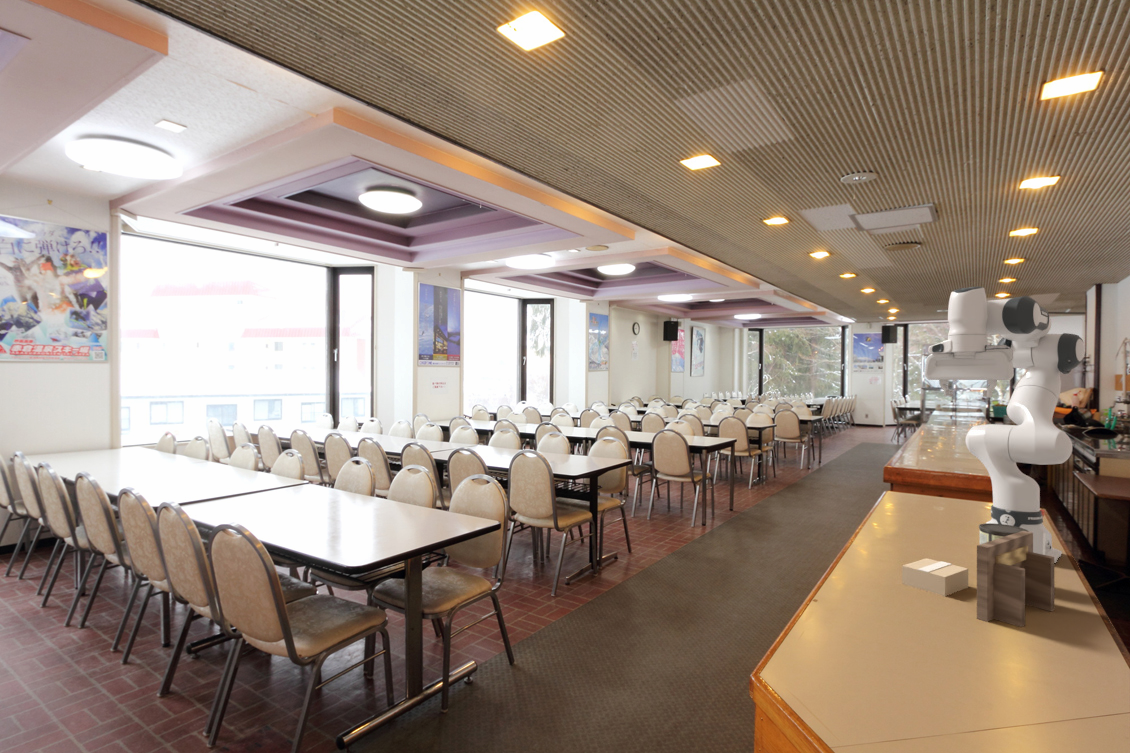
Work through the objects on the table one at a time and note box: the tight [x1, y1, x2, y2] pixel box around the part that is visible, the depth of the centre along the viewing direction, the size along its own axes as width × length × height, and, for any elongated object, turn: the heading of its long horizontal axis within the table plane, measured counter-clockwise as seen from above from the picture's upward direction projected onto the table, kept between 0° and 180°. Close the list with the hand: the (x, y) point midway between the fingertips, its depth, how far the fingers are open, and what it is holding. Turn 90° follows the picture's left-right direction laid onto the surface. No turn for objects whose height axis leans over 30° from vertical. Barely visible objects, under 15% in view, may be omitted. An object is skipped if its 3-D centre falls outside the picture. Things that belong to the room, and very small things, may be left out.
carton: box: [901, 557, 969, 597], centre depth 145 cm, size 12×10×5 cm
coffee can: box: [978, 522, 1029, 545], centre depth 148 cm, size 10×10×14 cm
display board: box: [976, 531, 1055, 628], centre depth 129 cm, size 24×7×16 cm, turn 122°
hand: (967, 397), depth 154 cm, fingers open, 8 cm apart
